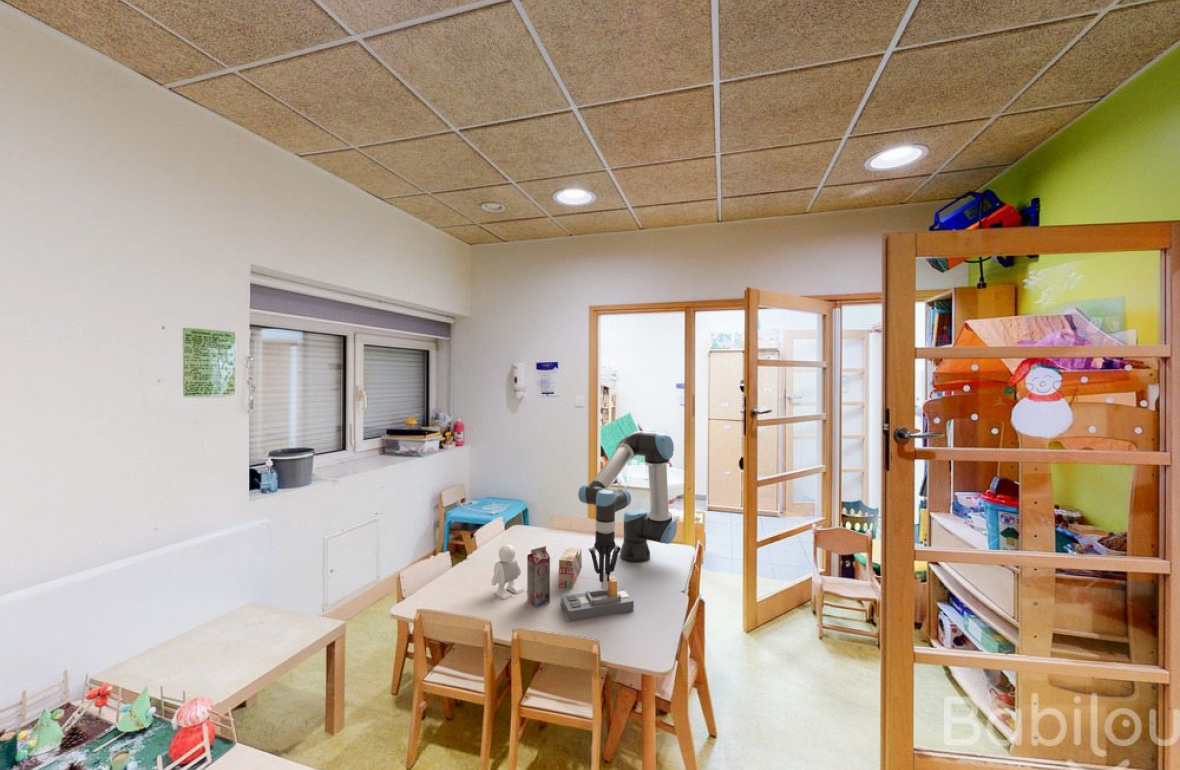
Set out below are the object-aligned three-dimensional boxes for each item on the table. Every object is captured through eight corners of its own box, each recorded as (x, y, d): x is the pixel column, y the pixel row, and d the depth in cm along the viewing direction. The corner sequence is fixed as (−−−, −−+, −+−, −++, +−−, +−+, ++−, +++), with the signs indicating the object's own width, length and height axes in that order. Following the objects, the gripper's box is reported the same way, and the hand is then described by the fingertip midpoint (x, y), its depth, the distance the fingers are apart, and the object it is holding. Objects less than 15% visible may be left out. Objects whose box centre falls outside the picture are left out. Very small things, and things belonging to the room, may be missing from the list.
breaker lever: (612, 592, 183) (612, 575, 183) (617, 598, 179) (617, 580, 178) (606, 593, 183) (607, 575, 182) (611, 599, 178) (611, 581, 178)
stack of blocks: (569, 566, 217) (569, 541, 217) (581, 567, 216) (582, 542, 216) (558, 587, 196) (558, 559, 196) (572, 588, 195) (573, 560, 195)
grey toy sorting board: (622, 596, 188) (622, 583, 188) (633, 611, 177) (633, 597, 177) (561, 605, 181) (561, 592, 180) (568, 621, 169) (568, 607, 169)
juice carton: (549, 602, 183) (549, 548, 183) (535, 607, 179) (535, 552, 179) (541, 595, 189) (541, 543, 188) (527, 600, 185) (527, 547, 184)
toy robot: (499, 601, 184) (499, 552, 183) (487, 593, 190) (487, 546, 190) (526, 589, 194) (526, 543, 194) (514, 582, 200) (514, 537, 200)
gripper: (617, 525, 184) (616, 583, 185) (586, 528, 181) (585, 587, 181) (623, 532, 177) (622, 591, 178) (592, 535, 173) (591, 596, 174)
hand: (604, 589), depth 180 cm, fingers closed
